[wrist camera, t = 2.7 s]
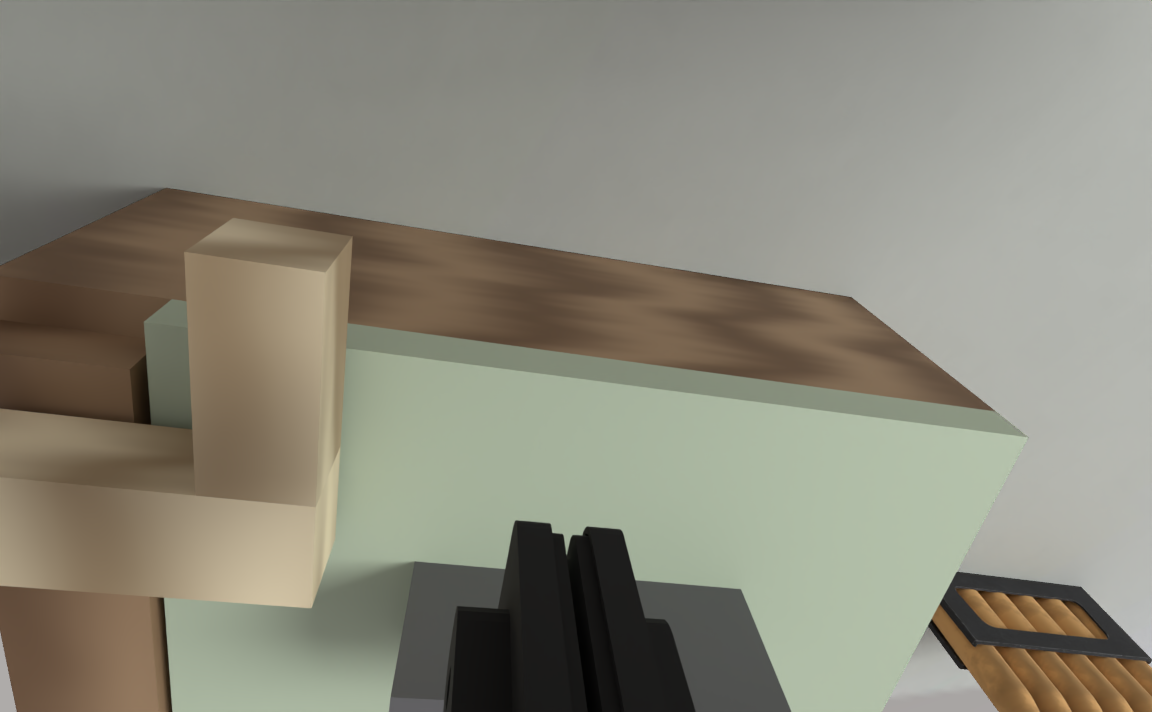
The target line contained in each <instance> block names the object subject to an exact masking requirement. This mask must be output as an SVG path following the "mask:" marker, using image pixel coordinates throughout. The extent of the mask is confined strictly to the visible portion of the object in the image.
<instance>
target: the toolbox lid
mask: <svg viewBox="0 0 1152 712" xmlns="http://www.w3.org/2000/svg"><path fill="white" fill-rule="evenodd" d="M144 332H145V346H146V359H147V373H148V386H149V400H150V414H151V425H156V426H165V427H174V428H183V429H192V412H191V390H190V368H189V346H188V324H187V302H186V301H181V300H174V299H171V300H170V301H169V302H168V303H167V304H165V305H164V306H163V307H162V308H160V309H159V310H158V311H157V312H155V313H154V314H153V315H152V316H150V317H149V318H148V319H147V320H145V321H144ZM1028 438H1029V437H1027V436H1026V435H1025V434H1024V433H1022V432H1021V431H1020V430H1019V429H1017V428H1016V427H1015V426H1013V425H1012V424H1011V423H1010V422H1008V421H1007V420H1006V419H1005V418H1003V417H1002V416H1001V415H1000V414H998V413H997V412H996V411H989V410H981V409H974V408H967V407H959V406H952V405H945V404H937V403H930V402H923V401H915V400H908V399H901V398H893V397H886V396H879V395H871V394H864V393H856V392H849V391H842V390H834V389H827V388H820V387H812V386H805V385H798V384H790V383H783V382H776V381H768V380H761V379H754V378H746V377H739V376H732V375H724V374H717V373H710V372H702V371H695V370H688V369H680V368H673V367H666V366H658V365H651V364H644V363H636V362H629V361H622V360H614V359H607V358H599V357H592V356H585V355H577V354H570V353H563V352H555V351H548V350H541V349H533V348H526V347H519V346H511V345H504V344H497V343H489V342H482V341H475V340H467V339H460V338H453V337H445V336H438V335H431V334H423V333H416V332H409V331H401V330H394V329H387V328H379V327H372V326H365V325H357V324H350V323H348V325H347V342H346V360H345V377H344V395H343V412H342V429H341V447H340V464H339V482H338V499H337V516H336V534H335V541H334V544H333V547H332V550H331V553H330V556H329V558H328V561H327V564H326V567H325V570H324V573H323V576H322V579H321V582H320V585H319V588H318V591H317V594H316V597H315V600H314V603H313V605H312V608H299V607H286V606H272V605H258V604H244V603H231V602H217V601H203V600H190V599H176V598H164V604H165V618H166V631H167V645H168V658H169V672H170V686H171V699H172V712H443V708H444V696H445V686H446V676H447V667H448V659H449V651H450V644H451V637H452V631H453V625H454V618H455V612H456V608H457V606H464V607H480V608H495V609H498V605H499V600H500V594H501V589H502V584H503V578H504V573H505V568H506V562H507V557H508V552H509V546H510V541H511V535H512V530H513V526H514V522H515V521H516V520H519V521H531V522H542V523H550V524H551V527H552V533H559V534H563V535H564V541H565V548H566V555H567V551H568V547H569V543H570V539H571V537H572V535H583V532H584V529H585V527H587V526H589V527H600V528H612V529H620V530H622V532H623V534H624V538H625V542H626V546H627V550H628V554H629V557H630V561H631V565H632V569H633V573H634V577H635V581H636V585H637V589H638V593H639V597H640V600H641V604H642V608H643V612H644V616H645V618H651V619H665V620H666V621H667V622H668V623H669V626H670V628H671V630H672V633H673V636H674V640H675V643H676V647H677V650H678V653H679V657H680V660H681V664H682V667H683V670H684V674H685V677H686V680H687V684H688V687H689V691H690V694H691V697H692V701H693V704H694V708H695V711H696V712H882V710H883V709H884V707H885V705H886V703H887V701H888V699H889V698H890V696H891V694H892V692H893V690H894V688H895V686H896V684H897V683H898V681H899V679H900V677H901V675H902V673H903V671H904V669H905V668H906V666H907V664H908V662H909V660H910V658H911V656H912V655H913V653H914V651H915V649H916V647H917V645H918V643H919V641H920V640H921V638H922V636H923V634H924V632H925V630H926V628H927V626H928V625H929V623H930V621H931V619H932V617H933V615H934V613H935V612H936V610H937V608H938V606H939V604H940V602H941V600H942V598H943V597H944V595H945V593H946V591H947V589H948V587H949V585H950V583H951V582H952V580H953V578H954V576H955V574H956V572H957V570H958V568H959V567H960V565H961V563H962V561H963V559H964V557H965V555H966V554H967V552H968V550H969V548H970V546H971V544H972V542H973V540H974V539H975V537H976V535H977V533H978V531H979V529H980V527H981V525H982V524H983V522H984V520H985V518H986V516H987V514H988V512H989V510H990V509H991V507H992V505H993V503H994V501H995V499H996V497H997V496H998V494H999V492H1000V490H1001V488H1002V486H1003V484H1004V482H1005V481H1006V479H1007V477H1008V475H1009V473H1010V471H1011V469H1012V467H1013V466H1014V464H1015V462H1016V460H1017V458H1018V456H1019V454H1020V453H1021V451H1022V449H1023V447H1024V445H1025V443H1026V441H1027V439H1028Z"/></svg>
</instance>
